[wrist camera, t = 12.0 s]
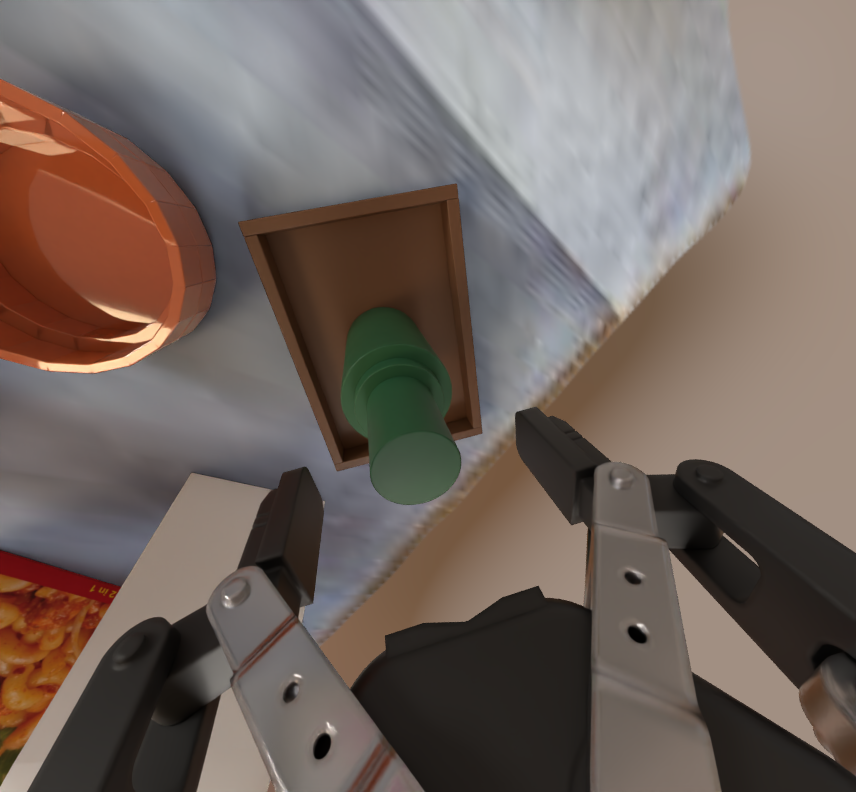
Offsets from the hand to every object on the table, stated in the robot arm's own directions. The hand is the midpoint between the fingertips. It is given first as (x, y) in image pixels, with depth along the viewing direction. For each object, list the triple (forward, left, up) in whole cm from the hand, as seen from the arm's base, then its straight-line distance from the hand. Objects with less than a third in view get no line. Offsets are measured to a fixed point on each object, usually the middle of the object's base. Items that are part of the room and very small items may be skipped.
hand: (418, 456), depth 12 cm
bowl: (-10, -16, -16) cm, 25 cm away
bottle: (0, 0, -16) cm, 16 cm away
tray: (0, 0, -16) cm, 16 cm away
